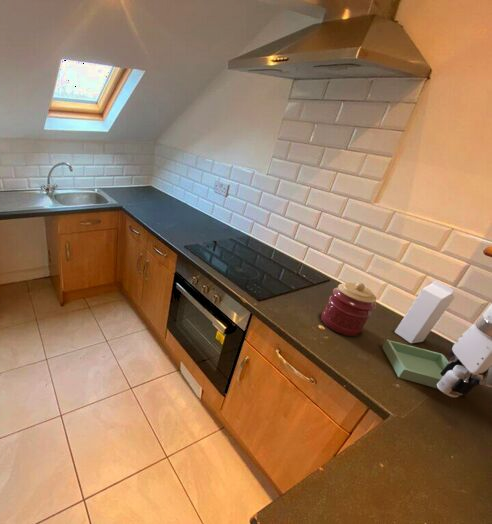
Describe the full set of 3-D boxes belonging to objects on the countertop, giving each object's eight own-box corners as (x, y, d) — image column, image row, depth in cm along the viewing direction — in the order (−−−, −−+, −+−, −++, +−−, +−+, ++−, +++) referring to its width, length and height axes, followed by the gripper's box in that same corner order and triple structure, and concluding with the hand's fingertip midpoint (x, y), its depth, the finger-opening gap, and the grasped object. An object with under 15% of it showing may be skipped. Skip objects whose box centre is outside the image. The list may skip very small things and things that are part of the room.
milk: (410, 343, 103) (448, 290, 92) (393, 331, 108) (427, 280, 97) (423, 341, 104) (461, 289, 94) (405, 330, 109) (440, 279, 99)
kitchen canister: (345, 340, 101) (369, 297, 92) (312, 316, 111) (331, 276, 103) (368, 332, 106) (393, 291, 98) (335, 310, 116) (355, 271, 108)
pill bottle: (452, 400, 76) (471, 379, 73) (432, 386, 80) (449, 365, 76) (461, 395, 78) (480, 374, 74) (441, 381, 82) (458, 361, 78)
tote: (436, 361, 96) (442, 354, 94) (461, 395, 84) (469, 387, 83) (381, 346, 100) (386, 339, 98) (398, 377, 88) (404, 369, 87)
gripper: (550, 361, 61) (492, 417, 70) (494, 314, 75) (451, 365, 84) (505, 349, 63) (453, 406, 71) (458, 305, 77) (420, 357, 86)
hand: (453, 383), depth 78 cm, fingers closed on pill bottle, 4 cm apart
